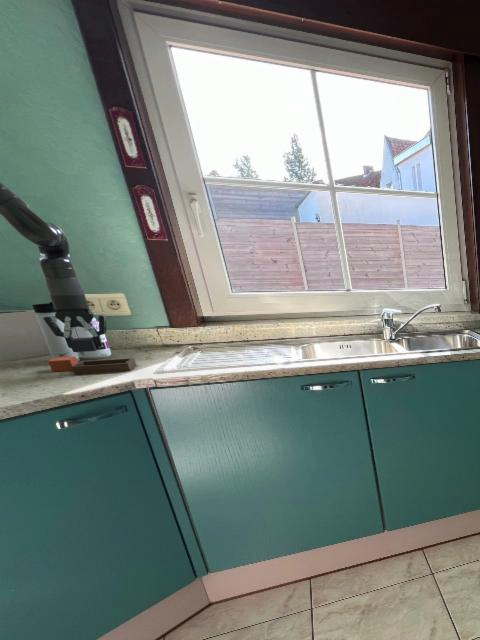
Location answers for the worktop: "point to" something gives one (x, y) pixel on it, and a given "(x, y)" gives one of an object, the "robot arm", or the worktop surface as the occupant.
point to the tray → (104, 366)
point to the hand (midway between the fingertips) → (87, 348)
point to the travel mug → (54, 342)
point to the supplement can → (84, 333)
